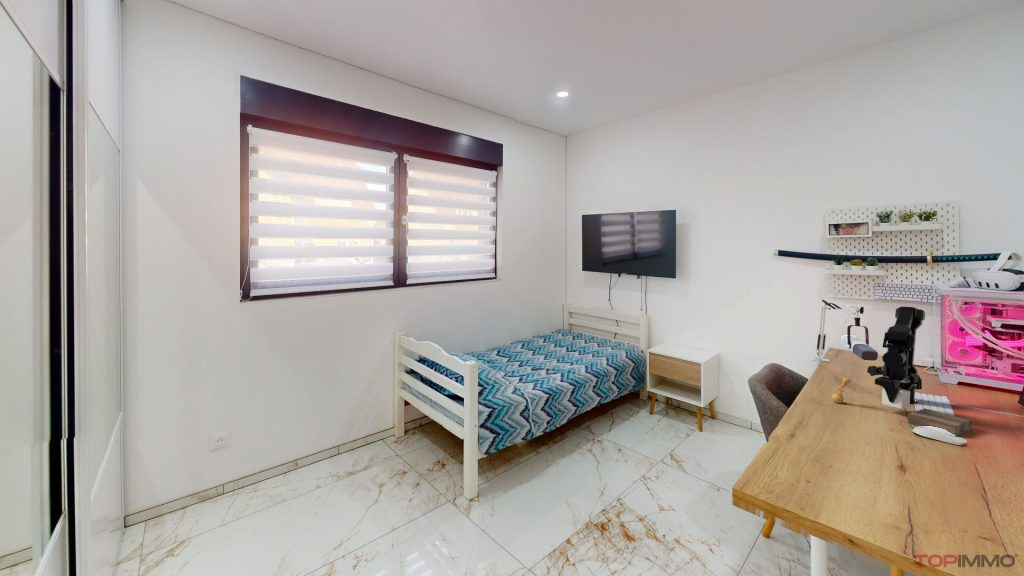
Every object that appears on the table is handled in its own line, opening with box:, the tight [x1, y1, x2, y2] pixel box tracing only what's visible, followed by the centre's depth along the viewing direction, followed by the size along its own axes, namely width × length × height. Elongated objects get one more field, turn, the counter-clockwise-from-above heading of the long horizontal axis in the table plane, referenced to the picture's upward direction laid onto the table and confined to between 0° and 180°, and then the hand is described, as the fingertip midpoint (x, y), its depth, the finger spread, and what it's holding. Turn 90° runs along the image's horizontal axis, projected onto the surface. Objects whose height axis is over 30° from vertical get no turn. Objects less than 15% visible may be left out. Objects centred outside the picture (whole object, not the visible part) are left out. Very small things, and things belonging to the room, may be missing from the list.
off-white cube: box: [881, 388, 910, 409], centre depth 153 cm, size 6×6×6 cm
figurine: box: [831, 375, 851, 404], centre depth 164 cm, size 8×6×12 cm
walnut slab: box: [907, 408, 972, 436], centre depth 141 cm, size 12×12×4 cm
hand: (895, 401), depth 153 cm, fingers closed on off-white cube, 6 cm apart
